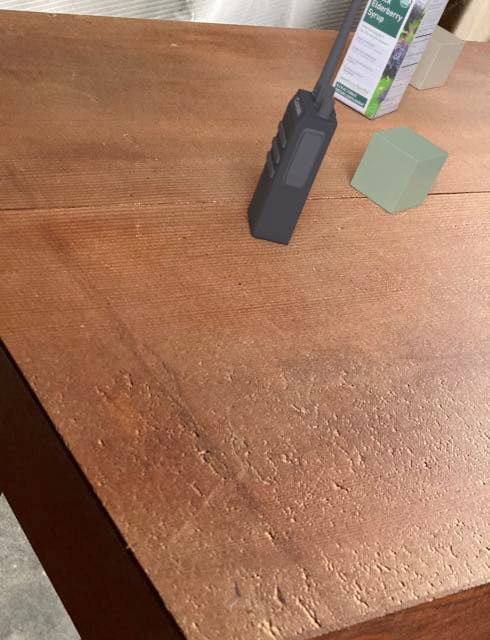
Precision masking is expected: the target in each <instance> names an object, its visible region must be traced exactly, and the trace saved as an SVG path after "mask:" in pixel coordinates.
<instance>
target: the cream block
mask: <svg viewBox="0 0 490 640" xmlns="http://www.w3.org/2000/svg"><path fill="white" fill-rule="evenodd" d="M465 44H466V41H465V40H463V39H462V38H460V37H458V36H457V35H455V34H454V33H452V32H450V31H448V30H447V29H445V28H443V27H442V26H441V25H440V26H439V25H438V24H437V26H436V28H435V30H434V32H433V34H432V36H431V38H430V41H429V43H428V45H427V47H426V49H425V51H424V53H423V55H422V57H421V59H420V61H419V63H418V65H417V68H416V70H415V72H414V74H413V76H412V78H411V80H410V82H409V84H408V85H410V86H412V87H413V88H415V89H416V90H418V91H423V90H428V89H435V88H440V87H444V86H445V84H446V81H447V79H448V78H449V76H450V73H451V72H452V70H453V67H454V66H455V64H456V62H457V59H458V58H459V56H460V54H461V51H462V50H463V47H465Z"/></svg>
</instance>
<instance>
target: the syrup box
mask: <svg viewBox="0 0 490 640" xmlns="http://www.w3.org/2000/svg"><path fill="white" fill-rule="evenodd" d="M448 3H449V0H367V3H366V6H365V8H364V10H363V12H362V16H361V17H360V19H359V23H358V25H357V28H356V29H355V32H354V34H353V37H352V39H351V42H350V44H349V46H348V49H347V51H346V53H345V55H344V58H343V60H342V63H341V65H340V66H339V69H338V70H337V73H336V75H335V77H334V79H333V82H332V84H331V85H332V86H333V87H335V89H336V91H335V93H334V96H333V98H332V99H336V100H338V101H340V102H341V103H342V104H345V105H346V106H348V107H350V108H351V109H353V110H354V111H356V112H357V113H359V114H361V115H363V116H364V117H366V118H368V119H369V120H374V119H377V118H379V117H382V116H385V115H387V114H389V113H391V112H395V111H396V110H397V109H398V107H399V105H400V103H401V101H402V99H403V96H404V95H405V92H406V90H407V88H408V86H409V85H410V84H409V82H410V80H411V78H412V76H413V74H414V72H415V70H416V68H417V65H418V63H419V61H420V59H421V57H422V55H423V53H424V51H425V49H426V47H427V45H428V43H429V41H430V38H431V36H432V34H433V32H434V30H435V28H436V26H437V25H438V24H439V22H440V19H441V17H442V15H443V13H444V11H445V9H446V7H447V4H448Z"/></svg>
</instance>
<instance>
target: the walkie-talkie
mask: <svg viewBox="0 0 490 640" xmlns="http://www.w3.org/2000/svg"><path fill="white" fill-rule="evenodd" d="M362 3H363V0H351V2H350V5H349V7H348V9H347V11H346V14H345V16H344V19H343V21H342V23H341V26H340V28H339V31H338V33H337V35H336V38H335V40H334V43H333V45H332V48H331V50H330V51H329V53H328V57H327V59H326V61H325V63H324V65H323V68H322V71H321V73H320V75H319V78H317V81H316V83H315V85H314V87H313V88H312V91H311V90H307V89H303V88H298V90H297V91H296V93H294V95H293V97H292V98H291V99H290V100H289V102H288V104H287V106H286V108H285V111H284V114H283V116H282V118H281V120H279V122H278V124H277V132H276V134H275V135H273V137H272V140H271V143H270V144H271V146H270V150H267V153H266V156H265V159H266V160H265V163H264V165H263V169H262V170H261V173H260V176H259V179H258V181H257V184H256V187H255V190H254V192H253V194H252V197H251V200H250V202H249V205H248V207H247V215H248V220H249V225H250V231H251V232H250V233H251V236H252V237H253V238H257V239H260V240H265V241H270V242H273V243H277V244H282V245H286V246H288V245H289V243H290V241H291V238H292V236H293V233H294V231H295V229H296V226H297V223H298V221H299V219H300V217H301V214H302V211H303V209H304V207H305V204H306V203H307V200H308V197H309V195H310V192H311V190H312V187H313V186H314V183H315V180H316V178H317V175H318V173H319V171H320V169H321V167H322V166H321V165H322V163H323V161H324V159H325V156H326V154H327V151H328V149H329V146H330V144H331V141H332V139H333V137H334V135H335V132H336V130H337V127H338V119H337V113H336V109H335V105H336V100H335V98H333V96H334V93H335V91H336V89H335V87H333V86H332V84H331V82H332V79H333V76H334V73H335V72H336V68H337V67H338V63H339V61H340V58H341V56H342V53H343V51H344V49H345V45H346V44H347V41H348V39H349V36H350V33H351V30H352V29H353V25H354V23H355V20H356V18H357V16H358V13H359V11H360V8H361V6H362Z"/></svg>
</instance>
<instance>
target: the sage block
mask: <svg viewBox="0 0 490 640" xmlns="http://www.w3.org/2000/svg"><path fill="white" fill-rule="evenodd" d="M449 155H450V153H449V152H447V151H446V150H444V149H443V148H441V147H440V146H438V145H437V144H436V143H434V142H432V141H431V140H430V139H428V138H426V137H424V136H423V135H422V134H420V133H419V132H417V131H415V129H413V128H411V127H410V126H408V125H403V126H397V127H392V128H388V129H383V130H378V131H373V133H372V135H371V137H370V139H369V142H368V144H367V146H366V149H365V151H364V152H363V155H362V157H361V159H360V161H359V164H358V166H357V167H356V170H355V171H354V175H353V177H352V178H351V181H350V183H349V186H351V187H352V188H354V189H355V190H356V191H358V192H359V193H361V194H362V195H363V196H365V197H366V198H367V199H369V200H370V201H372V202H373V203H374V204H375V205H377V206H379V207H380V208H382V209H383V210H384V211H386V212H387V213H389V214H390V215H393V214H396V213H400V212H403V211H406V210H409V209H412V208H417V207H420V206H423V205H424V203H425V200H426V198H427V196H428V194H429V193H430V191H431V189H432V188H433V185H434V184H435V181H436V180H437V178H438V175H440V172H441V171H442V168H443V166H444V165H445V163H446V161H447V159H448V157H449Z"/></svg>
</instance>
